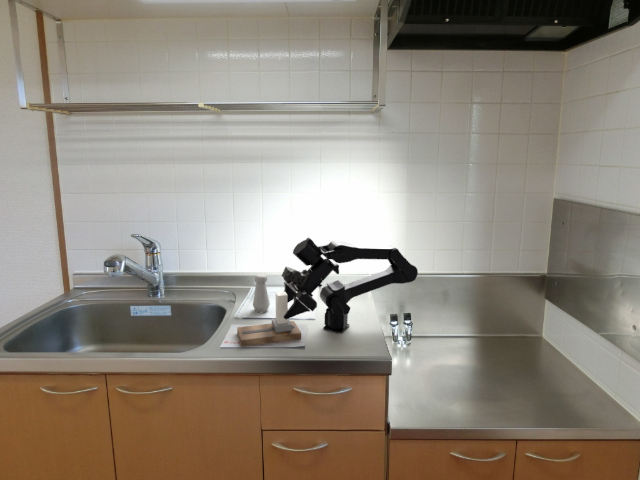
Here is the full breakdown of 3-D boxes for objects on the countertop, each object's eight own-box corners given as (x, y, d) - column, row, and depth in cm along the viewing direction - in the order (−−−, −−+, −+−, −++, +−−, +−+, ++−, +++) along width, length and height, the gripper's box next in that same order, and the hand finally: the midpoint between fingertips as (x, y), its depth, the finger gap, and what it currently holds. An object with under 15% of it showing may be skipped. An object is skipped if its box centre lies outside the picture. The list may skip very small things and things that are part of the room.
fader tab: (287, 322, 139) (287, 289, 136) (292, 330, 134) (292, 296, 131) (271, 324, 138) (271, 291, 135) (275, 332, 132) (275, 298, 129)
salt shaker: (268, 313, 151) (268, 277, 148) (251, 313, 151) (251, 277, 148) (270, 307, 157) (270, 272, 154) (254, 307, 157) (253, 272, 154)
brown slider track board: (293, 326, 142) (293, 320, 141) (301, 338, 133) (301, 332, 133) (237, 333, 136) (237, 326, 136) (241, 346, 128) (241, 339, 128)
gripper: (290, 250, 141) (256, 286, 140) (306, 267, 123) (268, 308, 123) (313, 272, 145) (281, 307, 144) (332, 291, 128) (295, 331, 127)
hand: (281, 312), depth 134 cm, fingers open, 9 cm apart
